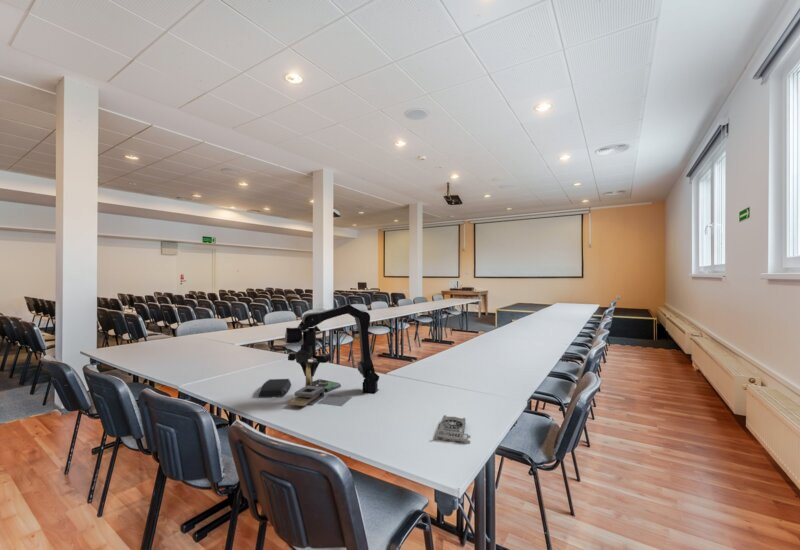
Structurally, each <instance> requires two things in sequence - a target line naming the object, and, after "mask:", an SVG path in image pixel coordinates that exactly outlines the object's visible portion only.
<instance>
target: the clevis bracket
mask: <svg viewBox="0 0 800 550" xmlns="http://www.w3.org/2000/svg"><path fill="white" fill-rule="evenodd" d="M324 398H325V392H324V387H318V386H308V385H307V386H306V385H305V386H304V387H302V388H299V389H298V390H297V391H295V392H294V398H293V399H291V400H289V401H288V404H289V405H292V406H301V407H305V406H314V405H315V404H317V403H318V402H319V401H321V400H322V399H324Z"/></svg>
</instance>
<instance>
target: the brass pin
mask: <svg viewBox="0 0 800 550" xmlns="http://www.w3.org/2000/svg"><path fill="white" fill-rule="evenodd" d="M311 362H313V360H312V361H311V360H308V362H306V376H305V386H306V385H312V384H313V381H314V376H313V377H312V376H311V368H312V366H311V364H310V363H311Z"/></svg>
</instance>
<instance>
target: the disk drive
mask: <svg viewBox="0 0 800 550" xmlns="http://www.w3.org/2000/svg"><path fill="white" fill-rule="evenodd" d="M341 385H342V384H341V383H340V382H335V381H331V380H325V379H323V378H318V379H316V380H313V384H312V385H308V386H318V387H324V393H330V392H332V391H334V390H337V389H340V388H341V387H342V386H341ZM305 386H307V385H306V384H305Z"/></svg>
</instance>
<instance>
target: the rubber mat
mask: <svg viewBox="0 0 800 550" xmlns="http://www.w3.org/2000/svg"><path fill="white" fill-rule="evenodd" d="M351 399H353V396H348V395H339V394H328V395H326V396H324V398H323V399H321V400H320V401H318V402H317V403H316V404H318V405H326V406H338V407H343V406H344V405H345V404H347V402H348V401H350V400H351Z"/></svg>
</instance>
